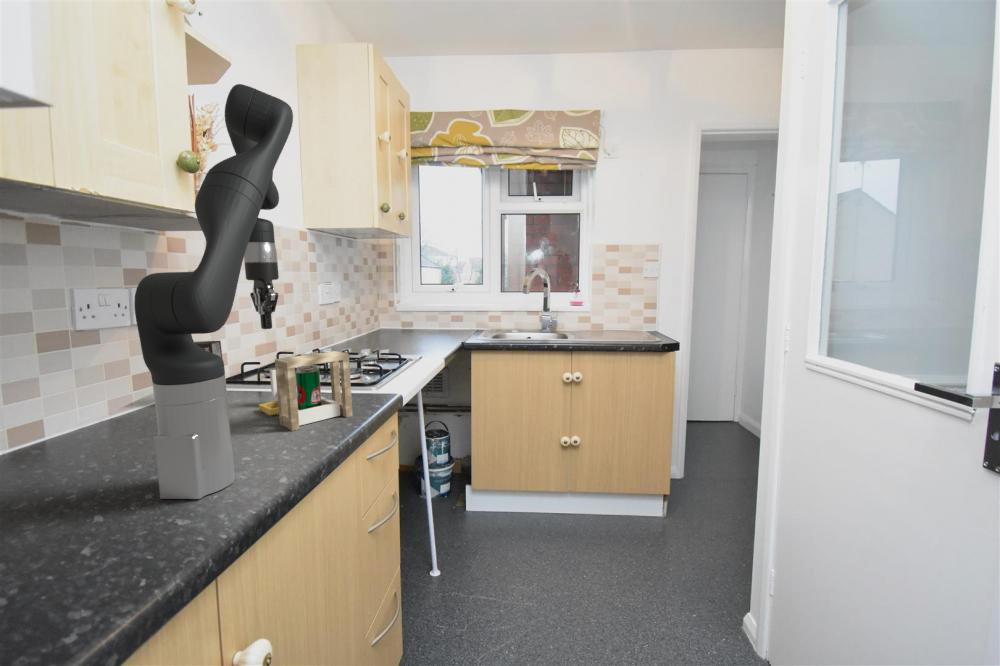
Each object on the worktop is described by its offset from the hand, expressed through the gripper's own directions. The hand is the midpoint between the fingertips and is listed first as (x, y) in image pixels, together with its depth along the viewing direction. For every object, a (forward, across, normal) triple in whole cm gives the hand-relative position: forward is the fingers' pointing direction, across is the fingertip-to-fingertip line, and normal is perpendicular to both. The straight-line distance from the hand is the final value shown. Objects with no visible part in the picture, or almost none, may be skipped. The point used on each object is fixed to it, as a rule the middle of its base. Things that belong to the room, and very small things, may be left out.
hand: (266, 328), depth 120 cm
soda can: (+19, -22, 0) cm, 30 cm away
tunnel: (+19, -26, 0) cm, 32 cm away
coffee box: (+20, +13, +13) cm, 26 cm away
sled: (+19, -16, 0) cm, 25 cm away
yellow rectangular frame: (+19, -11, 0) cm, 22 cm away
